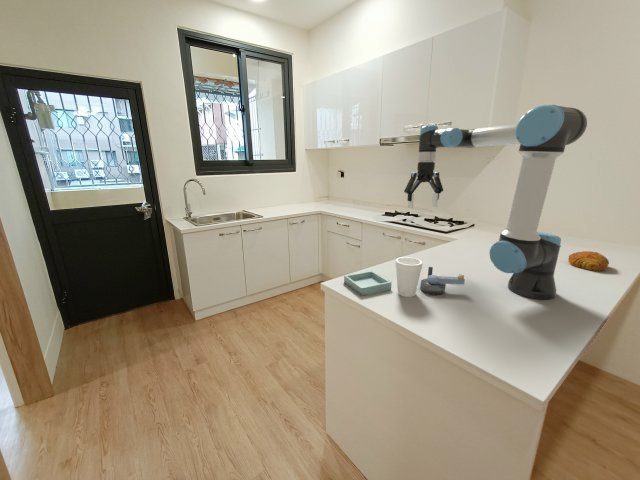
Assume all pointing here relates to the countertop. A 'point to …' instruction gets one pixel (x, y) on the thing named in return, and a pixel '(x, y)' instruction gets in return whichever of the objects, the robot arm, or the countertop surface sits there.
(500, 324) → the countertop surface
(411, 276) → the foam cup
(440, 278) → the crank
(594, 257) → the croissant
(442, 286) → the crank base
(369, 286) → the tray
